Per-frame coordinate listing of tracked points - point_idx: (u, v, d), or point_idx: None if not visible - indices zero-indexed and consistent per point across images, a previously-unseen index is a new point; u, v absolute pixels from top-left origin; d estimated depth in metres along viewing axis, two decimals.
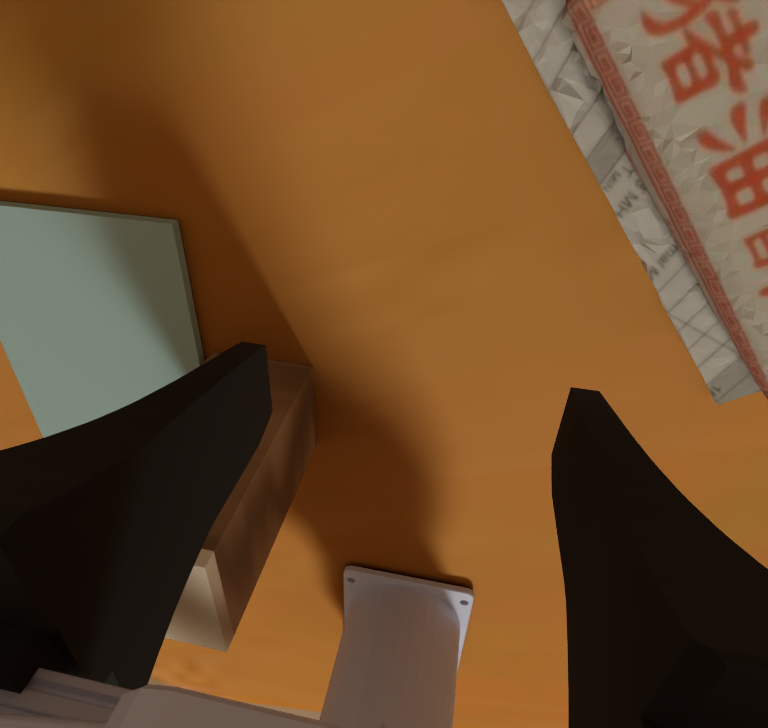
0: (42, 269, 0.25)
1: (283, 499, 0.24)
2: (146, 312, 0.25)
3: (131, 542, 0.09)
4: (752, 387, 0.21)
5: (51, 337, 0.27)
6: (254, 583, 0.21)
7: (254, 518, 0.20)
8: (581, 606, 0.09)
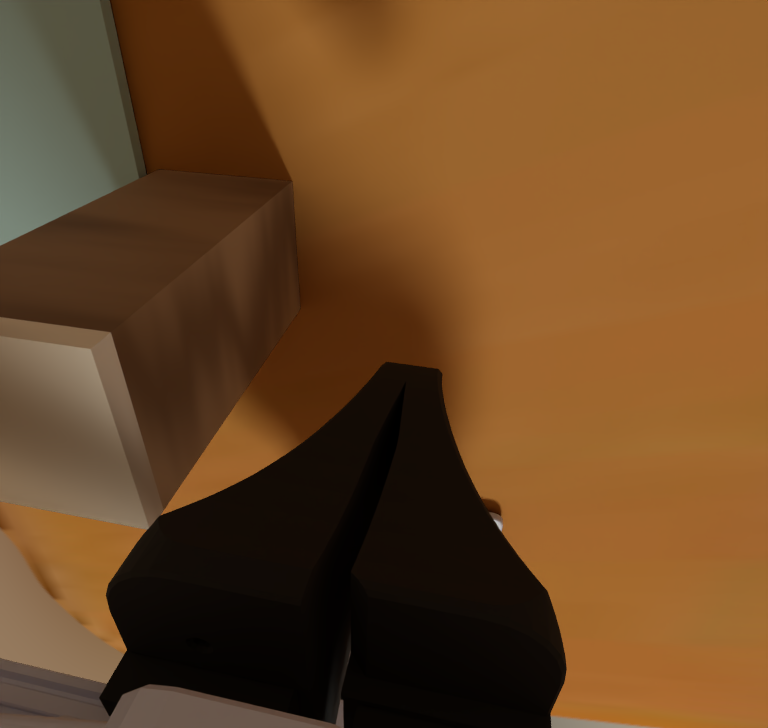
0: None
1: (248, 348, 0.17)
2: (64, 103, 0.18)
3: (344, 584, 0.08)
4: None
5: None
6: (201, 447, 0.15)
7: (197, 338, 0.14)
8: None
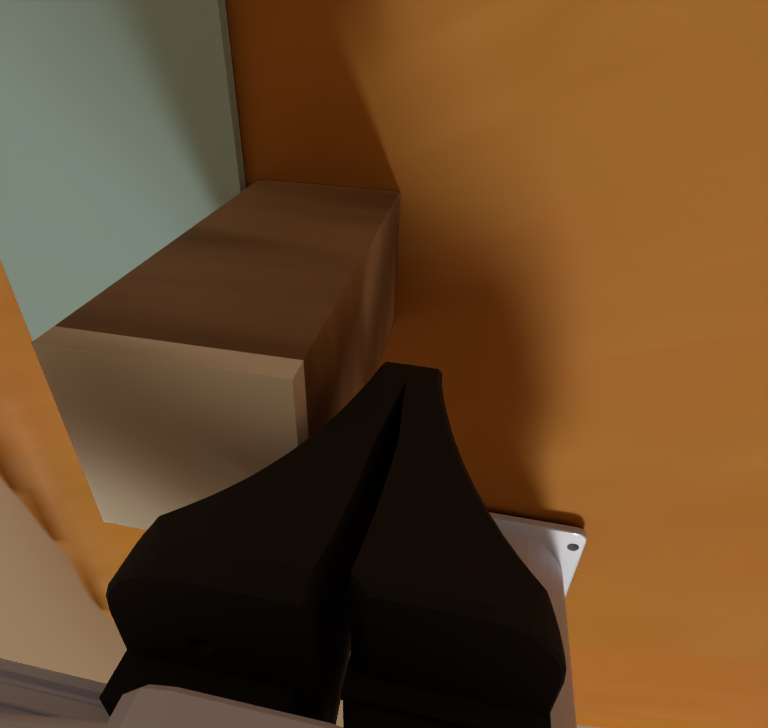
0: (22, 48, 0.17)
1: (367, 365, 0.16)
2: (168, 111, 0.18)
3: (344, 584, 0.08)
4: None
5: (36, 167, 0.20)
6: None
7: (344, 359, 0.13)
8: None
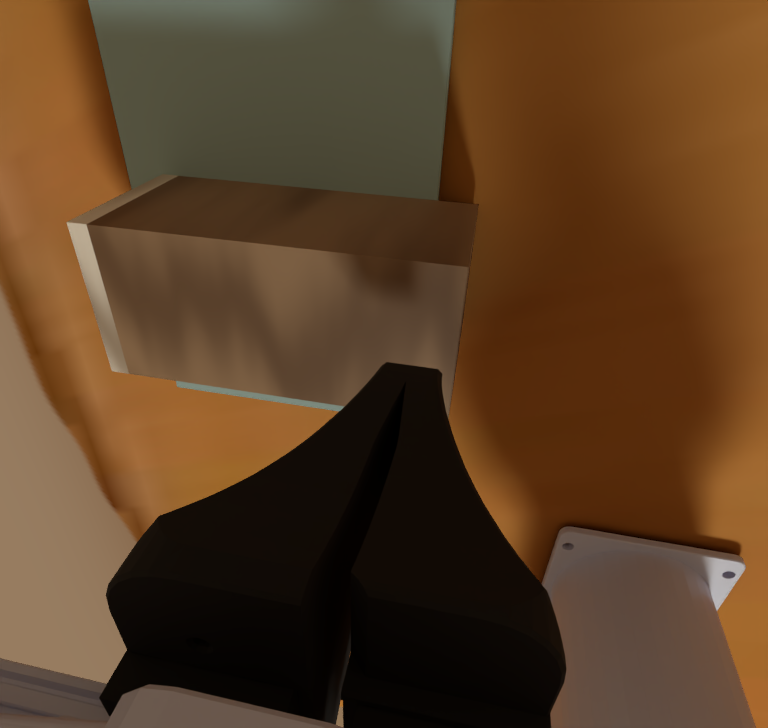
0: (221, 59, 0.16)
1: (288, 367, 0.16)
2: (373, 126, 0.17)
3: (344, 584, 0.08)
4: None
5: None
6: (185, 377, 0.17)
7: (193, 297, 0.15)
8: None
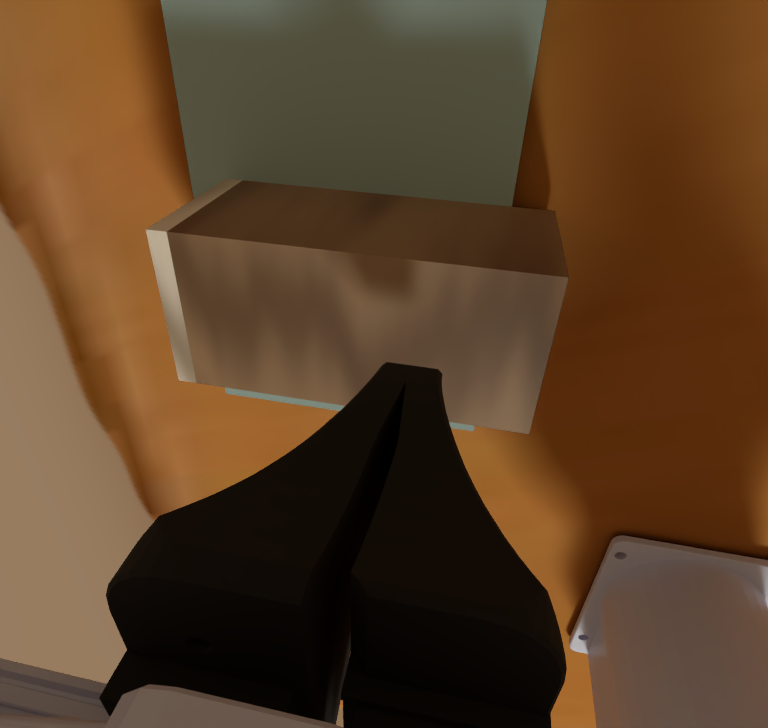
0: (296, 62, 0.16)
1: (366, 378, 0.16)
2: (450, 131, 0.16)
3: (344, 584, 0.08)
4: None
5: None
6: (256, 386, 0.17)
7: (273, 306, 0.15)
8: None
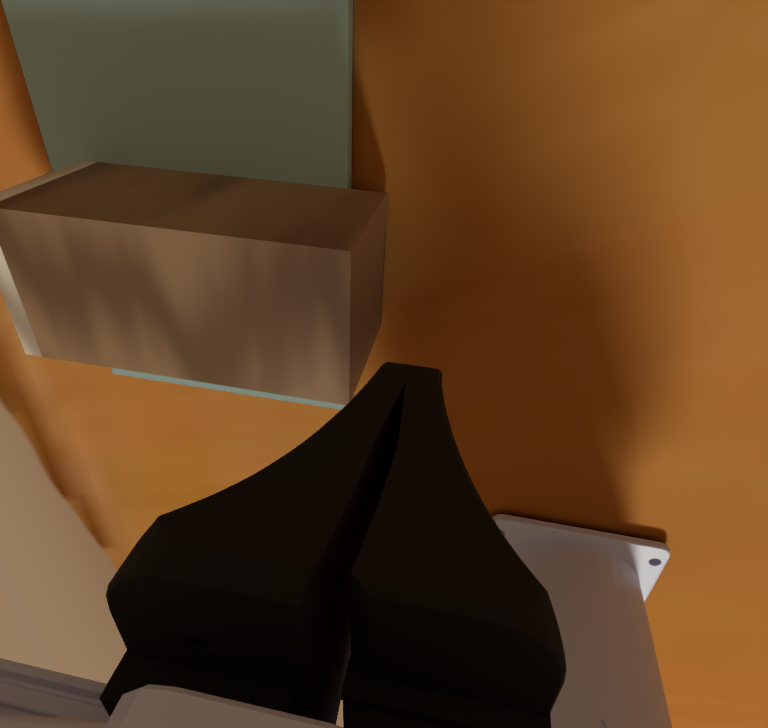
0: (129, 46, 0.17)
1: (193, 350, 0.16)
2: (280, 114, 0.17)
3: (344, 584, 0.08)
4: None
5: None
6: (96, 360, 0.17)
7: (95, 279, 0.16)
8: None
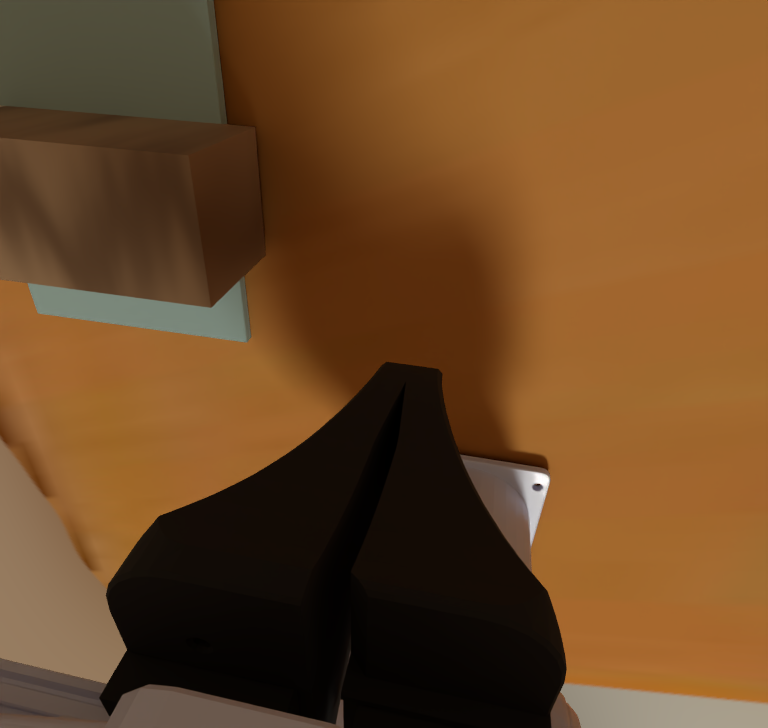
0: None
1: (74, 259, 0.19)
2: (156, 56, 0.19)
3: (344, 584, 0.08)
4: None
5: None
6: None
7: None
8: None
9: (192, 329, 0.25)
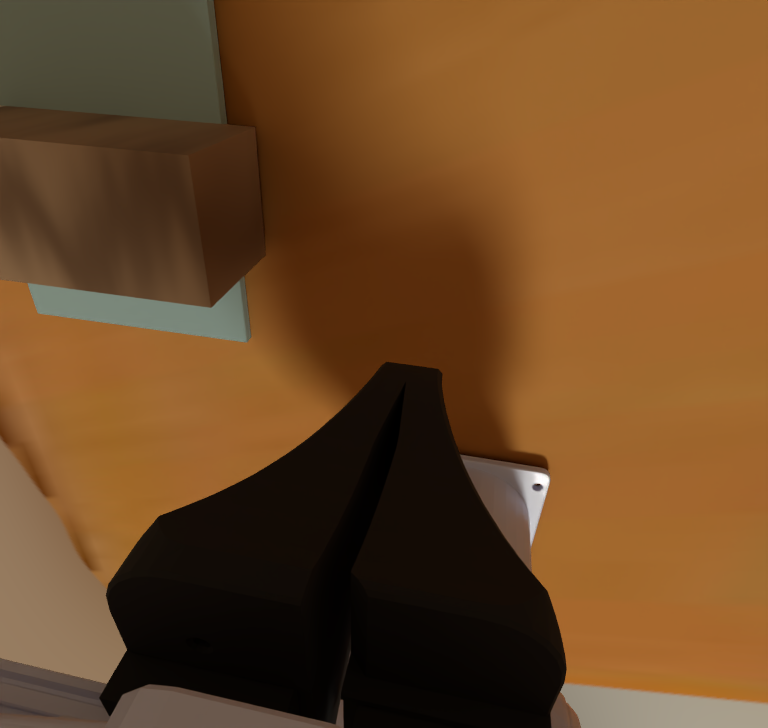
0: None
1: (74, 259, 0.19)
2: (156, 56, 0.19)
3: (344, 584, 0.08)
4: None
5: None
6: None
7: None
8: None
9: (192, 329, 0.25)
